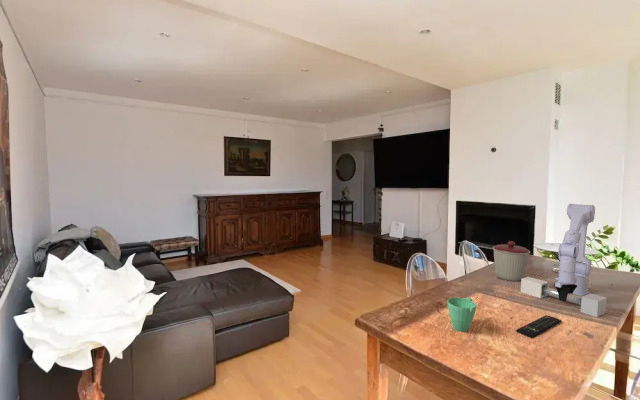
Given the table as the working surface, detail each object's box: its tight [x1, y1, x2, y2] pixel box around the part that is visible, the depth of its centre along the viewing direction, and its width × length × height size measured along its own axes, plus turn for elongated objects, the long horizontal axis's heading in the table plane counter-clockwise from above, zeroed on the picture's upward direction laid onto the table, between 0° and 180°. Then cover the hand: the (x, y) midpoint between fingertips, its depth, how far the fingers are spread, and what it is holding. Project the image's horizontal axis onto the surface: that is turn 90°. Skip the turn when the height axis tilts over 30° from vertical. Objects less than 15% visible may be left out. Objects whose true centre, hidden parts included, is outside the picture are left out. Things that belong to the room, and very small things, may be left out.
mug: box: [447, 297, 477, 333], centre depth 119 cm, size 15×10×10 cm
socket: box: [580, 292, 608, 318], centre depth 132 cm, size 8×6×7 cm
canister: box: [492, 240, 531, 282], centre depth 175 cm, size 18×18×21 cm
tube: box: [542, 286, 582, 306], centre depth 144 cm, size 4×22×4 cm, turn 29°
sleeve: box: [520, 276, 549, 299], centre depth 152 cm, size 6×9×7 cm
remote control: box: [515, 315, 562, 339], centre depth 119 cm, size 5×24×1 cm, turn 122°
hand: (564, 300), depth 141 cm, fingers closed on tube, 4 cm apart
